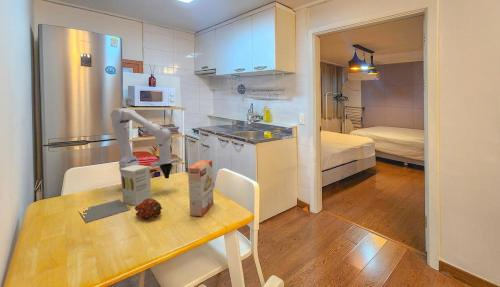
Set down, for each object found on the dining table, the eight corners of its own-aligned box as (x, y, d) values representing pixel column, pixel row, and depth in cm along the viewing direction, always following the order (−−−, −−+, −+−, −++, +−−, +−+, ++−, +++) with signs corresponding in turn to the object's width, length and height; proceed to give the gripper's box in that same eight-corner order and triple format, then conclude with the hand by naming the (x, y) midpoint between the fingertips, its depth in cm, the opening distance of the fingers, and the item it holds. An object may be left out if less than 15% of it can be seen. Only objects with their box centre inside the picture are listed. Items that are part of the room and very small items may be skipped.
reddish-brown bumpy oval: (162, 223, 104) (138, 224, 107) (169, 204, 109) (145, 206, 113) (151, 212, 98) (125, 214, 101) (159, 193, 104) (134, 195, 107)
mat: (78, 210, 113) (78, 210, 113) (119, 200, 124) (119, 199, 124) (86, 223, 101) (85, 222, 101) (130, 209, 113) (130, 209, 113)
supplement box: (122, 202, 121) (118, 168, 118) (139, 196, 129) (135, 164, 126) (136, 206, 117) (133, 171, 114) (152, 199, 125) (149, 165, 122)
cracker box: (203, 217, 104) (200, 168, 101) (189, 216, 106) (186, 167, 102) (214, 203, 118) (212, 159, 114) (202, 202, 119) (200, 159, 115)
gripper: (154, 156, 122) (156, 183, 124) (181, 151, 131) (183, 176, 134) (148, 153, 127) (150, 179, 129) (175, 149, 136) (176, 173, 139)
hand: (166, 178), depth 132 cm, fingers closed
